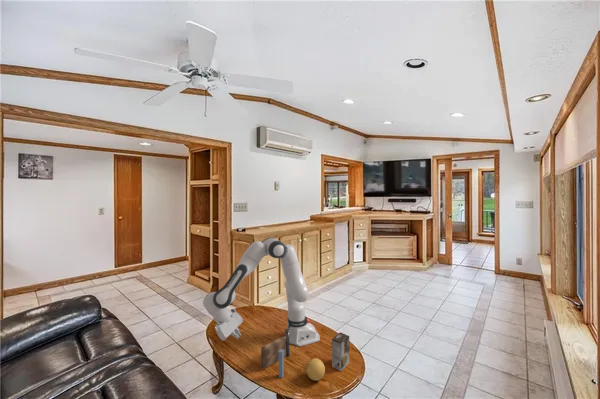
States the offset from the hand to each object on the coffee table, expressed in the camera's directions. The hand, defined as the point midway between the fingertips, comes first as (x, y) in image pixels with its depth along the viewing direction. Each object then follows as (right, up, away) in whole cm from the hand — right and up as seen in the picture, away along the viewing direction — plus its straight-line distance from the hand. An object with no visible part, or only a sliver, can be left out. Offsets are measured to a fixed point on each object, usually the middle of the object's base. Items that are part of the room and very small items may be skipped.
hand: (239, 337), depth 156 cm
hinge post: (+27, -14, +7) cm, 32 cm away
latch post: (+25, -15, -11) cm, 31 cm away
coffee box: (+58, -15, -2) cm, 60 cm away
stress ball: (+43, -16, -13) cm, 47 cm away
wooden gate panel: (+20, -14, 0) cm, 24 cm away
